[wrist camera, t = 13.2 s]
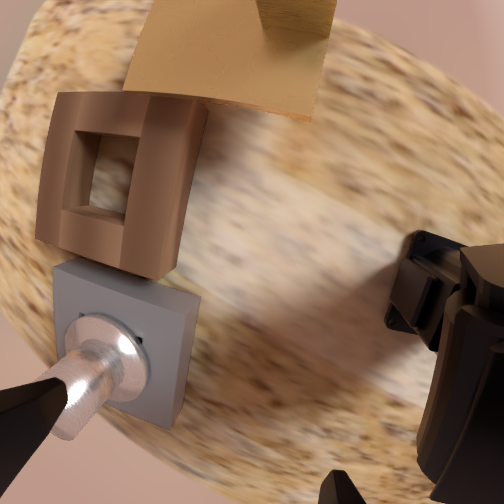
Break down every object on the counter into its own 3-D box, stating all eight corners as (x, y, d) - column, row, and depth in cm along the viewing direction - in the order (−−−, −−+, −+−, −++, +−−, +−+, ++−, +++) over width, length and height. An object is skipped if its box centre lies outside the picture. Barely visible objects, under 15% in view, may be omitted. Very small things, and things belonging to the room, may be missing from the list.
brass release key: (335, 2, 11) (350, -74, 5) (310, 122, 12) (322, 75, 7) (170, -13, 11) (123, -72, 6) (131, 94, 13) (54, 60, 7)
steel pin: (170, 310, 20) (88, 396, 10) (165, 382, 22) (105, 474, 12) (94, 286, 21) (-3, 342, 11) (96, 356, 22) (23, 425, 12)
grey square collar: (200, 296, 19) (185, 315, 17) (182, 406, 22) (170, 430, 19) (78, 256, 20) (53, 266, 17) (79, 363, 23) (60, 379, 20)
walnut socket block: (208, 110, 17) (193, 97, 14) (175, 266, 19) (156, 280, 16) (83, 100, 18) (57, 92, 15) (61, 231, 20) (35, 238, 17)
